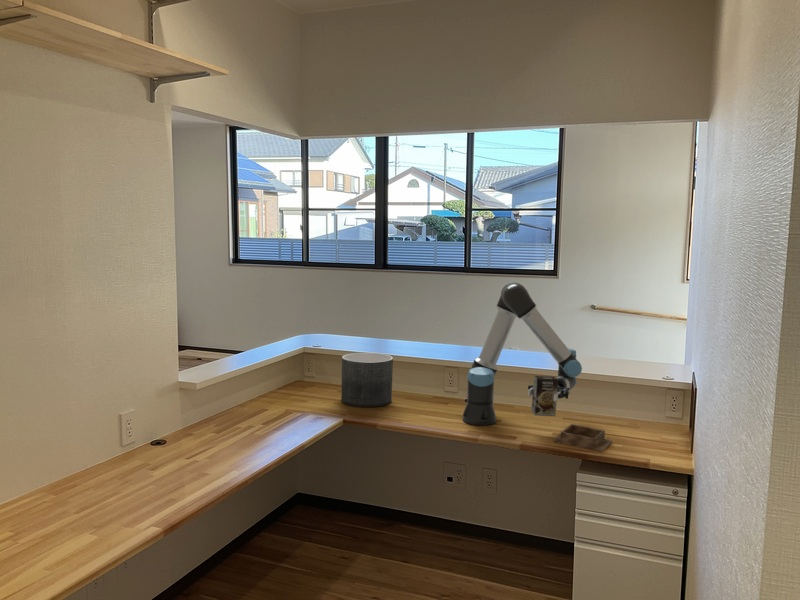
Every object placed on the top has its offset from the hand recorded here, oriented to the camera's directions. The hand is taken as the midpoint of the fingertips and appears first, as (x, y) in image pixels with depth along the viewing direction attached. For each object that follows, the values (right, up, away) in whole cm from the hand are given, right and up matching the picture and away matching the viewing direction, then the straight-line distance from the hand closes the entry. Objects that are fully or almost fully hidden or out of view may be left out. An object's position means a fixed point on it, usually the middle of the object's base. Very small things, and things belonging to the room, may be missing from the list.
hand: (541, 395), depth 255 cm
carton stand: (+15, -18, -6) cm, 25 cm away
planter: (-77, -10, +48) cm, 91 cm away
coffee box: (+2, -9, +4) cm, 10 cm away
